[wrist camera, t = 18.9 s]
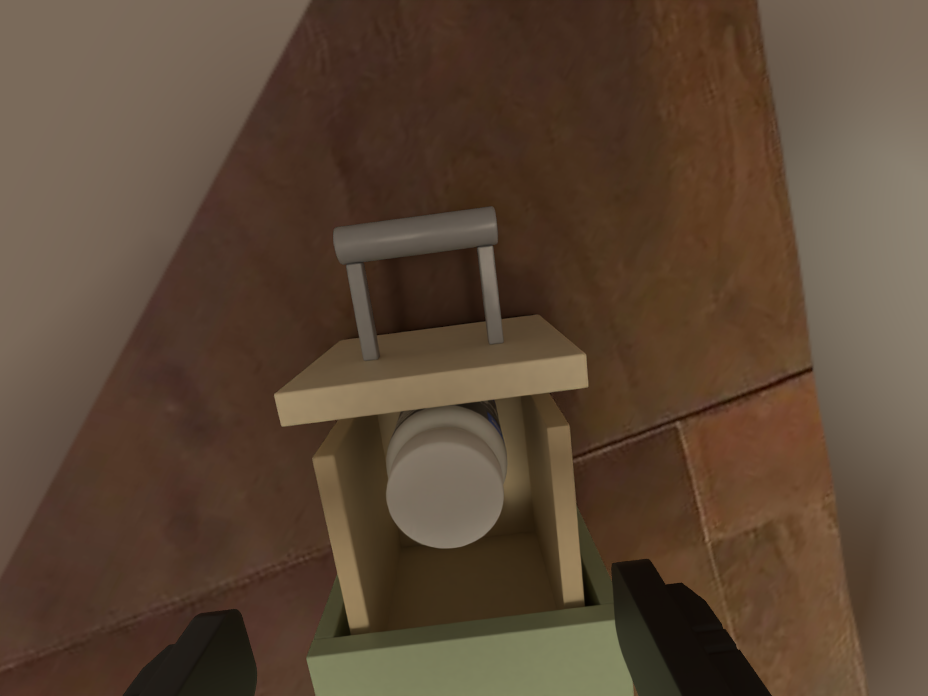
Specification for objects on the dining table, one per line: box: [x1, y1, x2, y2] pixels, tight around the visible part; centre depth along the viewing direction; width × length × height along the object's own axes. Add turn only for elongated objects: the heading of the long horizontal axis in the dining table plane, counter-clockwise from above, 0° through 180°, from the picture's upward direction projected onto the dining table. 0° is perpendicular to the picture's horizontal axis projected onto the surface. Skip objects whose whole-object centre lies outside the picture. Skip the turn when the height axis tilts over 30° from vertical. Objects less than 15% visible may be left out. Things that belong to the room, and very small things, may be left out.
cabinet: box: [306, 505, 634, 696], centre depth 23 cm, size 14×12×11 cm
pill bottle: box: [386, 400, 508, 548], centre depth 19 cm, size 5×5×8 cm
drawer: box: [274, 206, 588, 635], centre depth 20 cm, size 18×10×9 cm, turn 7°
